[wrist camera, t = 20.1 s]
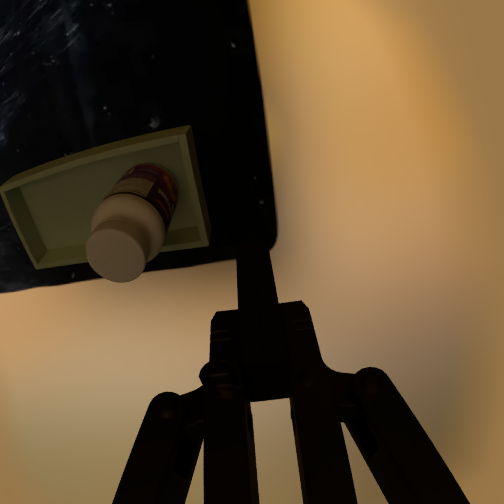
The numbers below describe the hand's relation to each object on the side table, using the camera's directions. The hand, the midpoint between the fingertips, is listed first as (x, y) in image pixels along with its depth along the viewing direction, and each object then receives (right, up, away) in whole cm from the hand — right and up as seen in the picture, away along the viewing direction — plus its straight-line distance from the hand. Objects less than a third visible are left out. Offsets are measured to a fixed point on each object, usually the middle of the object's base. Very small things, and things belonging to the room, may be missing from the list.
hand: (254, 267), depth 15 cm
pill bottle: (-9, +6, +10) cm, 15 cm away
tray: (-14, +6, +10) cm, 18 cm away
